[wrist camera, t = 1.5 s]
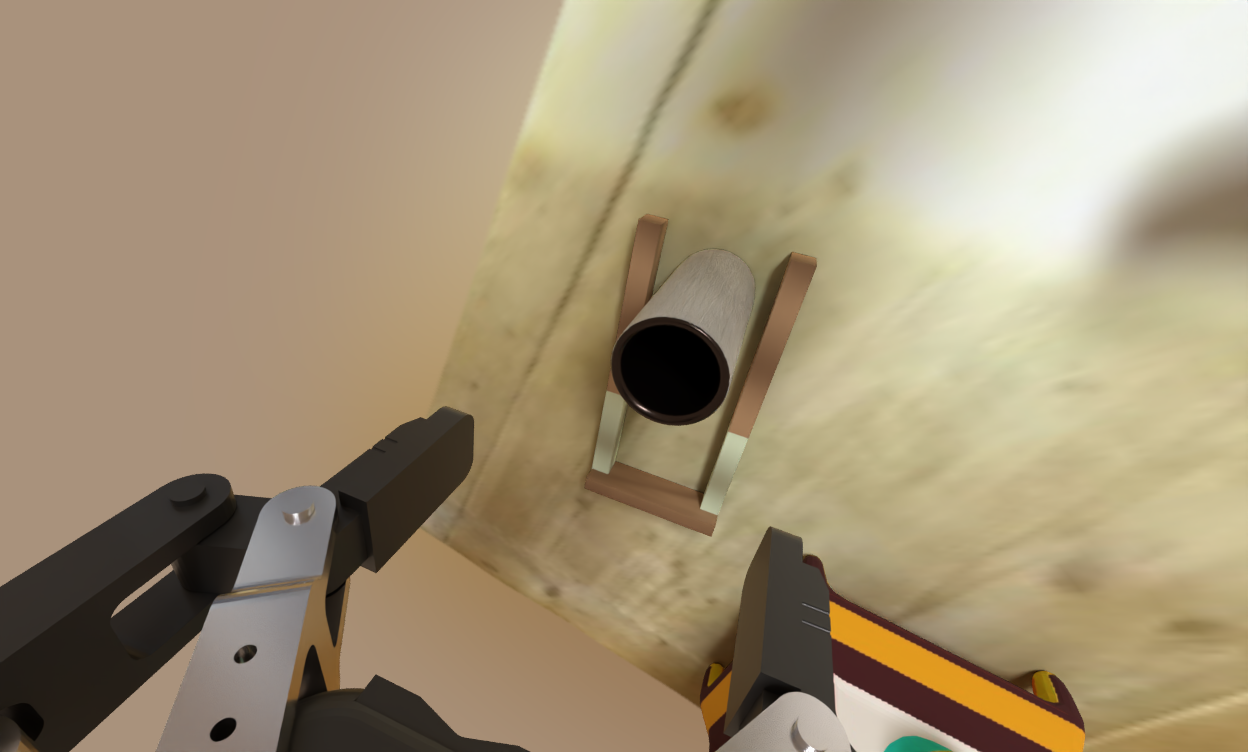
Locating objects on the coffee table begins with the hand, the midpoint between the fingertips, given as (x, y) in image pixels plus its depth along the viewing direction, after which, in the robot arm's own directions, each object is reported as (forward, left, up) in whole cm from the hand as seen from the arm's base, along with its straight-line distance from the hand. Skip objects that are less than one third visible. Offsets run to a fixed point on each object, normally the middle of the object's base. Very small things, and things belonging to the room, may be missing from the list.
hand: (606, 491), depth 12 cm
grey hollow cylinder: (0, 0, -17) cm, 17 cm away
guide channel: (+6, 0, -17) cm, 18 cm away
